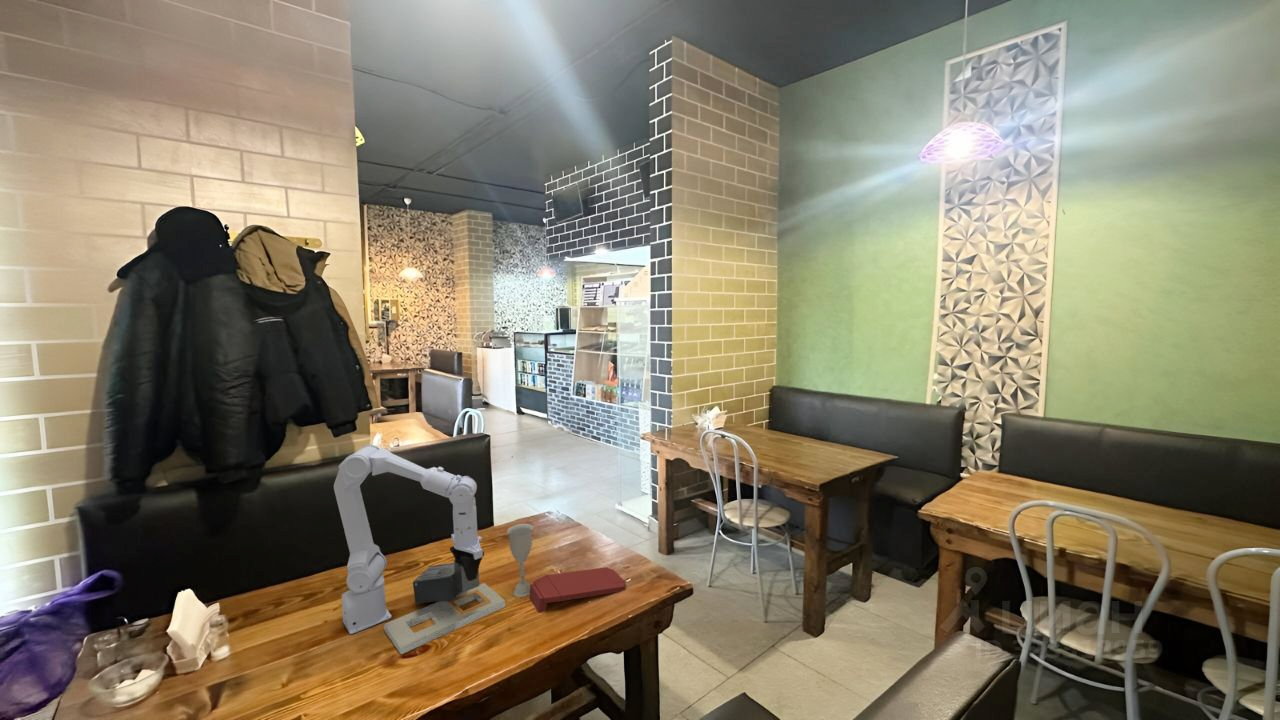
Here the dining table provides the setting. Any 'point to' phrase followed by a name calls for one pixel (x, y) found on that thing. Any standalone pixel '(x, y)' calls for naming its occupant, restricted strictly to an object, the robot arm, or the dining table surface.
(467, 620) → the rail plate
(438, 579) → the small box
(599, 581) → the carton
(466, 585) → the post
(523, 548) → the chalice
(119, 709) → the dining table surface
